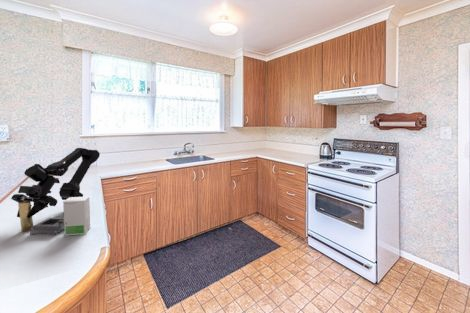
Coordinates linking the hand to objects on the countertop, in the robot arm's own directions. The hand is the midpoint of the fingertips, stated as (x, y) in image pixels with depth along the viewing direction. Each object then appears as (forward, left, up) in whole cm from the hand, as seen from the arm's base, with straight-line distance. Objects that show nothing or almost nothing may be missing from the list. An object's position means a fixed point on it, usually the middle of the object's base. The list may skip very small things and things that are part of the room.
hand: (22, 217), depth 99 cm
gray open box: (+5, +10, -7) cm, 13 cm away
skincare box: (+13, +20, -7) cm, 25 cm away
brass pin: (-1, +1, -7) cm, 7 cm away
